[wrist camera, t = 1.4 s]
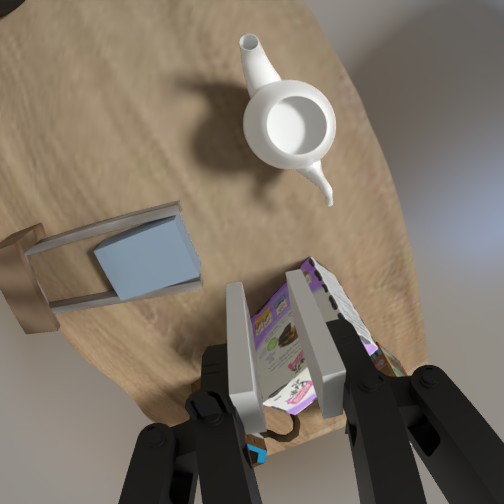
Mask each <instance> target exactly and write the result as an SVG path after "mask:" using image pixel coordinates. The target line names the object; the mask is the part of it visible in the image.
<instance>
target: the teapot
mask: <svg viewBox="0 0 504 504" xmlns="http://www.w3.org/2000/svg"><path fill="white" fill-rule="evenodd" d="M239 46H240V52H241V60H242V67H243V72H244V77H245V81H246V86H247V89H248V93H249V96H250V101H249V102H248V104H247V106H246V109H245V112H244V116H243V131H244V135H245V139H246V141H247V143H248V145H249V147H250V148H251V150H252V151H253V152H254V154H255V155H256V156H257V157H258V158H260V159H261V160H262V161H264V162H265V163H267V164H269V165H271V166H273V167H276V168H279V169H285V170H296V171H298V172H299V173H300V174H301V175H303V176H304V177H306V178H307V179H308V180H310V181H311V182H312V183H314V184H315V185H317V186H318V187H319V188H320V189H321V191H322V192H323V194H324V195H325V204H326V205H327V206H329V207H330V206H332V205H333V199H332V188H331V186H330V185H329V183H328V181H327V180H326V179H325V177H324V174H323V172H322V168H321V161H320V159H321V158H322V157H323V156H324V155H325V154H326V153H327V152H328V150H329V149H330V147H331V145H332V143H333V140H334V137H335V133H336V119H335V114H334V111H333V108H332V106H331V104H330V103H329V101H328V100H327V98H326V97H325V96H324V95H323V94H322V93H321V92H320V91H319V90H318V89H316V88H315V87H313V86H311V85H310V84H307V83H305V82H302V81H297V80H282V79H281V78H280V76H279V75H278V73H277V72H276V70H275V69H274V67H273V66H272V64H271V63H270V61H269V60H268V58H267V56H266V54H265V52H264V50H263V48H262V46H261V44H260V42H259V40H258V38H257V37H256V36H255V35H252V34H246V35H243V36H242V37H241V38H240V40H239Z"/></svg>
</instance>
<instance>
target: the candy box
mask: <svg viewBox="0 0 504 504" xmlns="http://www.w3.org/2000/svg"><path fill="white" fill-rule="evenodd" d="M298 269H301V270H302V272H303V275H304V277H305V279H306V281H307V283H308V285H309V288H310V290H311V292H312V294H313V296H314V298H315V301H316V303H317V305H318V307H319V310H320V312H321V314H322V316H323V318H324V321H325V322H328V321H332V320H336V319H340V318H345V319H346V320H348V321H349V322H350V323H352V324H353V326H354V328H355V329H356V331H357V334H358V335H359V337H360V339H361V342H363V344H364V346H365V348H366V350H367V352H368V354H369V356H370V355H371V354H373V353H374V352H375V351H376V350H377V349H378V347H377V345H376V343H375V341H374V340H373V338H372V336H371V335H370V333H369V331H368V330H367V328H366V326H365V324H364V323H363V321H362V319H361V318H360V316H359V314H358V313H357V311H356V309H355V308H354V306H353V305H352V303H351V301H350V300H349V298H348V296H347V295H346V293H345V291H344V290H343V288H342V287H341V285H340V283H339V282H338V280H337V279H336V277H335V276H334V275H333V274H332V273H331V272H329V271H328V270H327V269H326V268H324V267H323V266H322V265H321V264H320V263H318V262H317V261H316V260H315V259H313V258H312V257H309V258H308V259H307V260H306V261H305V262H304V263H303V264H302V265H301V266H300V267H299V268H298ZM251 322H252V328H253V335H254V343H255V350H256V358H257V365H258V372H259V380H260V387H261V394H262V401H263V405H266V406H269V407H272V408H275V409H277V410H281V411H284V412H287V413H290V414H293V415H296V414H297V413H299V412H300V411H302V410H303V409H304V408H306V407H307V406H308V405H310V404H311V403H312V402H314V401H315V400H316V399H317V396H316V393H315V390H314V386H313V383H312V380H311V376H310V373H309V370H308V367H307V363H306V360H305V357H304V354H303V350H302V347H301V344H300V341H299V337H298V334H297V331H296V328H295V325H294V321H293V318H292V314H291V307H290V300H289V293H288V286H287V281H286V283H285V284H284V285H283V286H282V287H281V288H280V289H279V290H278V291H277V292H276V293H275V294H274V295H273V296H272V297H271V298H270V299H269V301H268V302H267V303H266V304H265V305H264V306H263V307H262V308H261V309H260V310H259V311H258V312H257V313H256V314H255V315H254V316H253V317H252V318H251Z"/></svg>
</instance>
